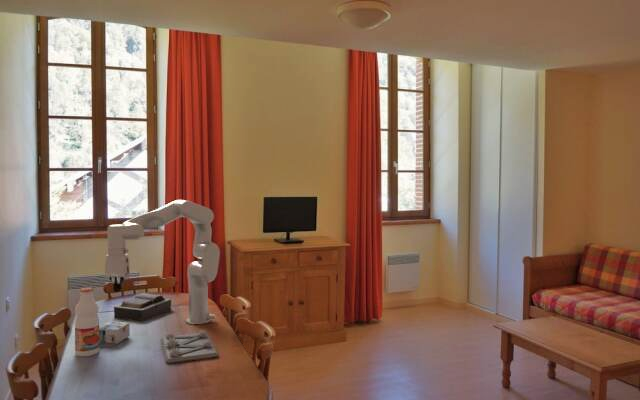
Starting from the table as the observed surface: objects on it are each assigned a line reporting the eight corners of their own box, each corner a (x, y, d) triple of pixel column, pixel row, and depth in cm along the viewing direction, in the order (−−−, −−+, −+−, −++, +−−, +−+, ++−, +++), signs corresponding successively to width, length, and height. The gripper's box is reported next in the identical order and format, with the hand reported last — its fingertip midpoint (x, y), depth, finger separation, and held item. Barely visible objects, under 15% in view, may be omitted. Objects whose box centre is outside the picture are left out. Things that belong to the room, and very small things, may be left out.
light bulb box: (117, 329, 217) (95, 327, 218) (117, 344, 217) (95, 342, 219) (129, 322, 228) (108, 320, 229) (129, 336, 228) (108, 334, 229)
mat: (129, 335, 230) (129, 334, 230) (112, 347, 214) (112, 346, 214) (100, 334, 231) (100, 333, 231) (82, 346, 215) (82, 345, 215)
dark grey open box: (177, 311, 272) (177, 294, 271) (136, 324, 249) (136, 305, 248) (149, 305, 284) (149, 289, 284) (108, 316, 261) (108, 298, 260)
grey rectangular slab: (219, 359, 204) (219, 342, 203) (165, 366, 196) (165, 348, 195) (207, 336, 231) (207, 322, 231) (160, 342, 223) (160, 326, 223)
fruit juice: (86, 348, 213) (86, 285, 212) (104, 350, 210) (103, 287, 209) (70, 355, 204) (68, 290, 203) (88, 358, 201) (87, 291, 200)
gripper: (136, 250, 224) (136, 289, 225) (105, 250, 225) (105, 289, 226) (129, 253, 216) (129, 293, 217) (96, 252, 217) (97, 293, 218)
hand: (117, 291), depth 222 cm, fingers closed
